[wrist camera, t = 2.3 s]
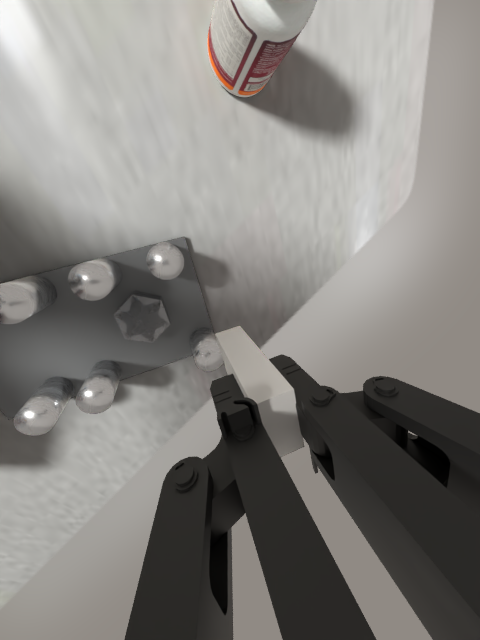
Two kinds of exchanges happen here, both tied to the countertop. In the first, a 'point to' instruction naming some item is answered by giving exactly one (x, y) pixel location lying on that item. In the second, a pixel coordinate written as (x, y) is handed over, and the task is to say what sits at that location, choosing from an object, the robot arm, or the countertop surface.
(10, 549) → the countertop surface
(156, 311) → the nut
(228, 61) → the pill bottle
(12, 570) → the countertop surface
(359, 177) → the countertop surface
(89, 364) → the mat
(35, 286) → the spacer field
